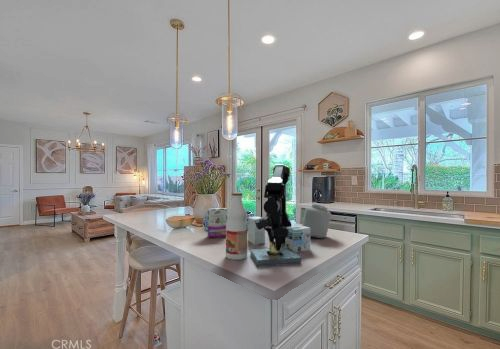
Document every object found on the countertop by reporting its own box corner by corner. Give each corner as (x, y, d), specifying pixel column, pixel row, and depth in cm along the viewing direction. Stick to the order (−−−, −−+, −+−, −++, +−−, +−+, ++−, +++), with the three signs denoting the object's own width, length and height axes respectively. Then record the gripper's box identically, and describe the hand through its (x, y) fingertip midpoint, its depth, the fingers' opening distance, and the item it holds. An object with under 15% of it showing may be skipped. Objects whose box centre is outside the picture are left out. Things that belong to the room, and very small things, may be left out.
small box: (265, 243, 125) (265, 218, 125) (254, 244, 122) (254, 219, 122) (258, 239, 132) (258, 216, 132) (247, 240, 130) (247, 216, 130)
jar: (334, 235, 144) (334, 193, 144) (335, 241, 130) (335, 195, 130) (302, 232, 149) (302, 192, 149) (300, 238, 135) (300, 194, 135)
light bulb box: (293, 253, 109) (293, 229, 109) (284, 249, 115) (284, 226, 115) (311, 250, 114) (311, 227, 114) (301, 246, 120) (302, 224, 120)
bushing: (277, 257, 104) (277, 240, 104) (280, 260, 99) (281, 243, 99) (268, 257, 103) (268, 241, 103) (270, 261, 99) (270, 244, 99)
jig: (288, 252, 110) (288, 247, 110) (300, 263, 96) (301, 257, 96) (250, 254, 106) (250, 249, 106) (257, 266, 93) (257, 260, 93)
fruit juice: (248, 260, 100) (248, 193, 100) (225, 260, 99) (226, 193, 99) (246, 252, 109) (246, 192, 109) (225, 253, 108) (226, 192, 108)
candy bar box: (226, 235, 142) (226, 207, 142) (227, 237, 137) (227, 208, 137) (207, 236, 139) (207, 208, 139) (207, 238, 134) (208, 209, 135)
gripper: (251, 208, 109) (251, 242, 109) (261, 214, 90) (261, 255, 90) (275, 207, 111) (275, 241, 111) (289, 214, 93) (289, 254, 93)
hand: (274, 247), depth 101 cm, fingers open, 9 cm apart
